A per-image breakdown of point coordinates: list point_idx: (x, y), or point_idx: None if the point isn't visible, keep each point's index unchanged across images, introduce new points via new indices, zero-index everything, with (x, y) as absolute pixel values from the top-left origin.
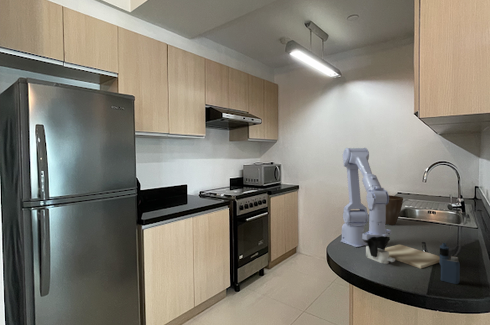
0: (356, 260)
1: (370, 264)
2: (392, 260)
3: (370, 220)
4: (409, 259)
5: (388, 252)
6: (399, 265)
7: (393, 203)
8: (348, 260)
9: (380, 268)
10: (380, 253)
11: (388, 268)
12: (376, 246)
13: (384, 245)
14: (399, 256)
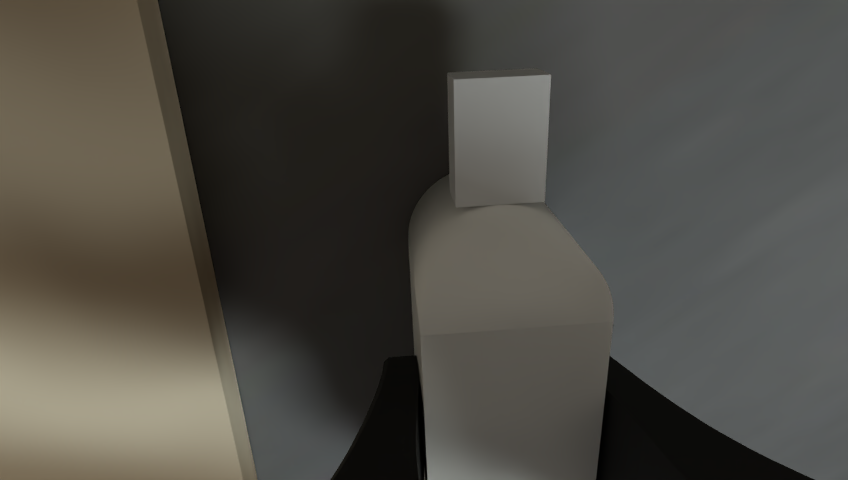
0: (756, 418)
1: (740, 254)
2: (536, 71)
3: None
4: (1, 43)
5: (469, 264)
6: (366, 19)
7: None
8: (836, 450)
9: (773, 81)
10: (603, 324)
11: (667, 18)
12: (759, 465)
13: (413, 477)
14: (83, 239)
